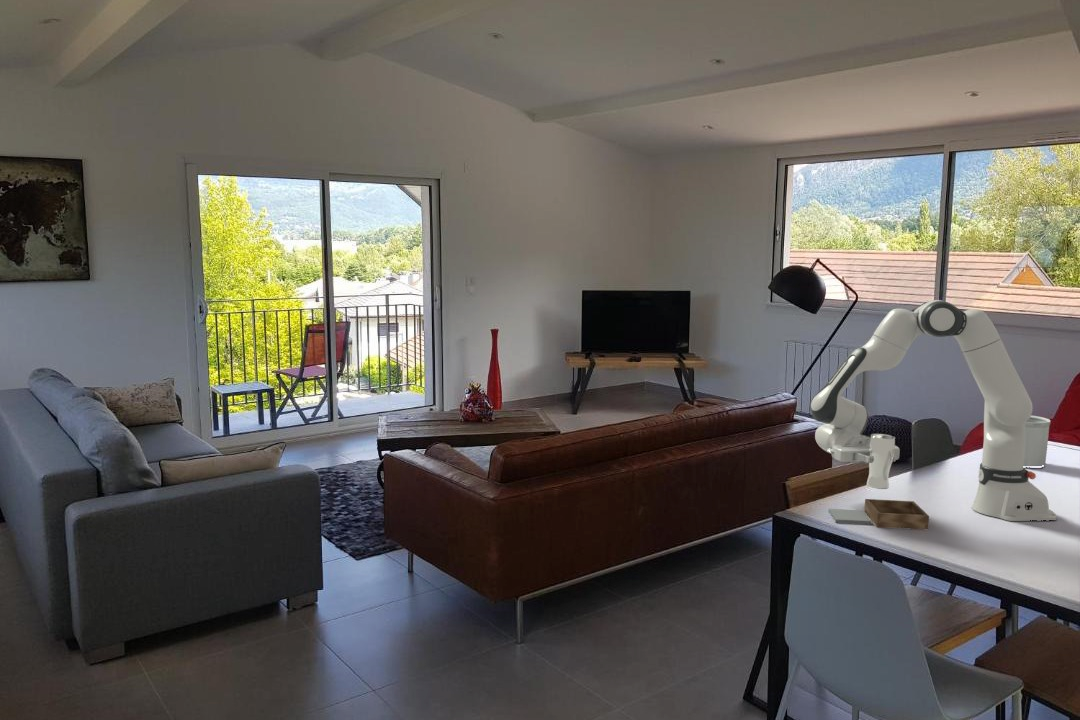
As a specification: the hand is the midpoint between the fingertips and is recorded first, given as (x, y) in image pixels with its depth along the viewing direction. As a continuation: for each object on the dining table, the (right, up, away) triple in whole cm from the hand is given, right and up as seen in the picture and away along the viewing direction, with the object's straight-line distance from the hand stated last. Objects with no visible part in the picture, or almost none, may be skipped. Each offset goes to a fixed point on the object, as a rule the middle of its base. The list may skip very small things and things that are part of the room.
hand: (882, 459), depth 243 cm
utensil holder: (+81, -10, +69) cm, 107 cm away
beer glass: (-1, -8, +2) cm, 8 cm away
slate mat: (-8, -18, +4) cm, 20 cm away
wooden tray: (+5, -18, +3) cm, 19 cm away
